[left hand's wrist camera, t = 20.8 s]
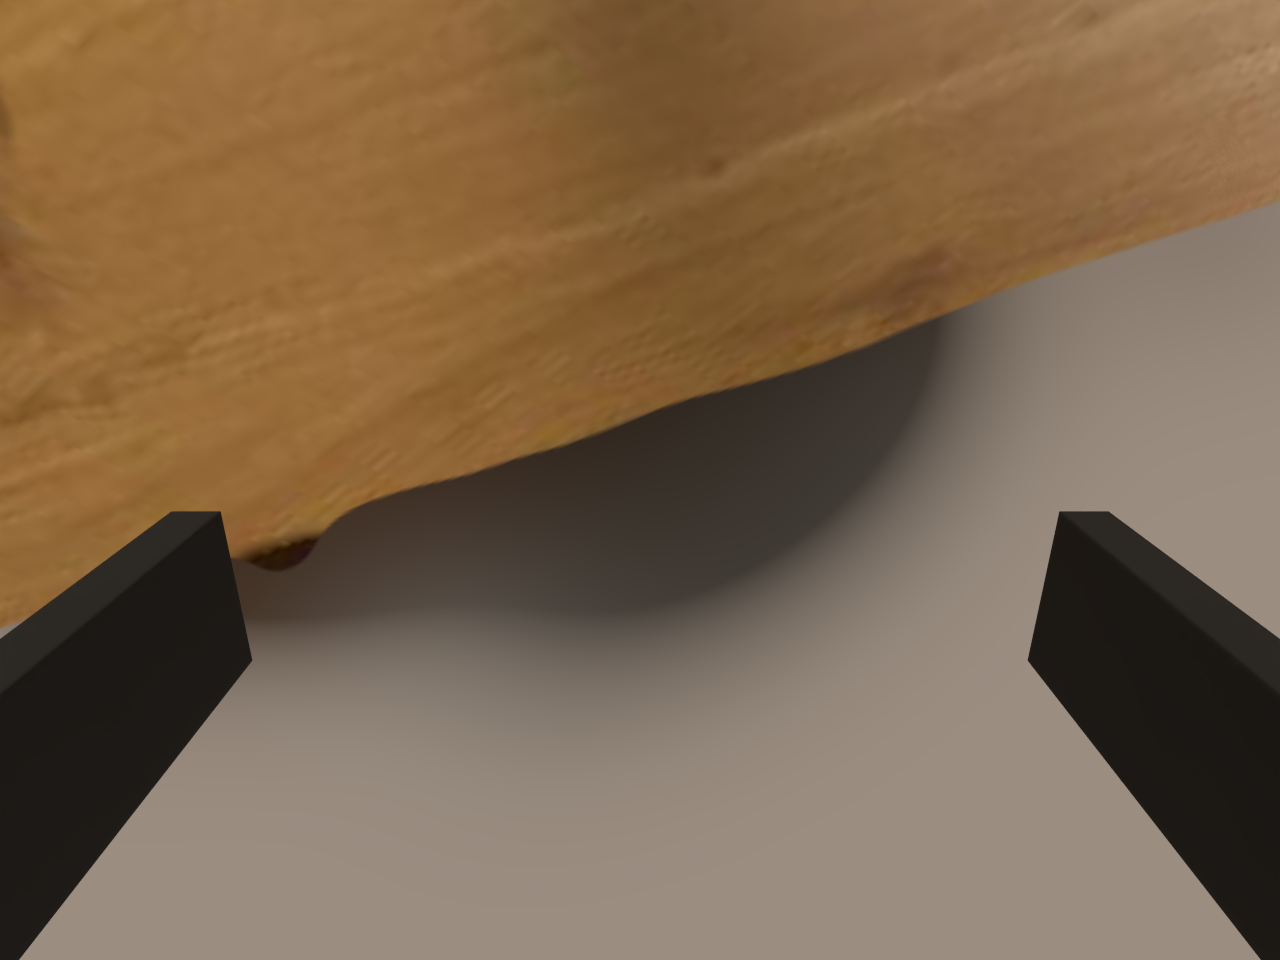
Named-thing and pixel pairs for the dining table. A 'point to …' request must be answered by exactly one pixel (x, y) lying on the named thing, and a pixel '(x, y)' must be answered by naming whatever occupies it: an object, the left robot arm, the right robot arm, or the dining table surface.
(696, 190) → the dining table surface
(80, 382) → the dining table surface
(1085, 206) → the dining table surface
